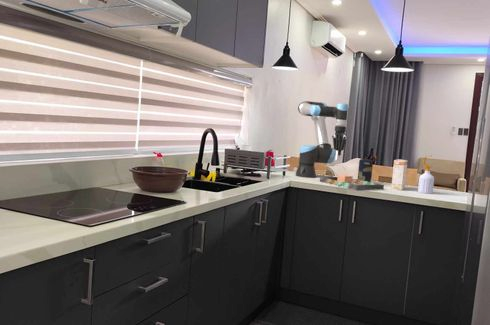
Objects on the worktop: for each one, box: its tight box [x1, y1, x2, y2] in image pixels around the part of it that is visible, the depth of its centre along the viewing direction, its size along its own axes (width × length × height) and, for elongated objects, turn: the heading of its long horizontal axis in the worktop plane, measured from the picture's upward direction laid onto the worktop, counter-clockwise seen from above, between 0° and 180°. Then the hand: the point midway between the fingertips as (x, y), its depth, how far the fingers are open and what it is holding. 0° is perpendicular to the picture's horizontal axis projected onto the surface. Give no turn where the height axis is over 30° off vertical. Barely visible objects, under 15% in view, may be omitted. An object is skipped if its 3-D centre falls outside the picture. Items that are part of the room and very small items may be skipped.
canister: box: [357, 157, 374, 182], centre depth 309 cm, size 10×10×18 cm
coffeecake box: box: [390, 158, 409, 191], centre depth 290 cm, size 15×7×20 cm, turn 152°
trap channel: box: [319, 176, 385, 191], centre depth 289 cm, size 34×24×3 cm
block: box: [337, 174, 354, 184], centre depth 294 cm, size 7×7×6 cm
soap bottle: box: [417, 155, 435, 195], centre depth 280 cm, size 9×9×25 cm
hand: (337, 159), depth 300 cm, fingers closed
